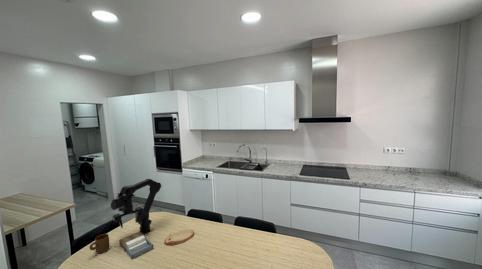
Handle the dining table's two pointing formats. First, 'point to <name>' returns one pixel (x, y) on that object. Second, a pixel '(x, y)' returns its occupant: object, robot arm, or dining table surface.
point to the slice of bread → (179, 237)
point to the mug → (101, 243)
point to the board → (129, 239)
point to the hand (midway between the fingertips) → (129, 225)
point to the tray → (140, 250)
